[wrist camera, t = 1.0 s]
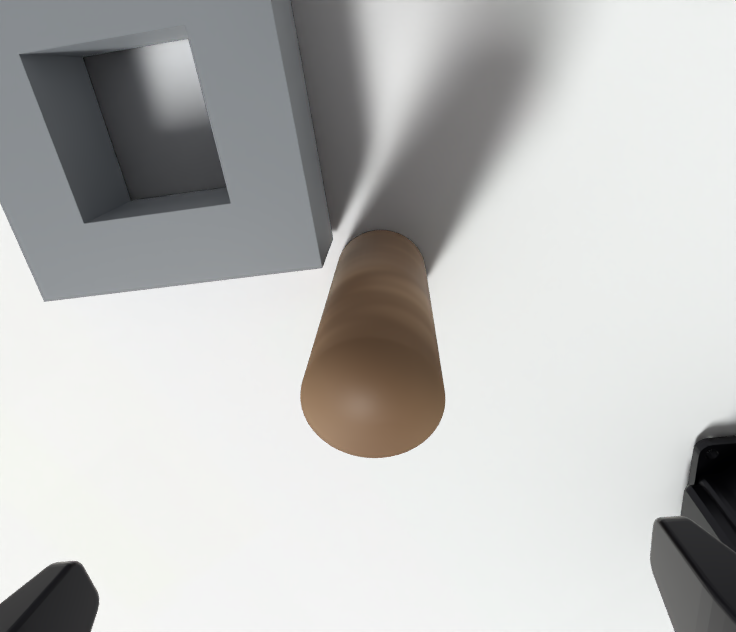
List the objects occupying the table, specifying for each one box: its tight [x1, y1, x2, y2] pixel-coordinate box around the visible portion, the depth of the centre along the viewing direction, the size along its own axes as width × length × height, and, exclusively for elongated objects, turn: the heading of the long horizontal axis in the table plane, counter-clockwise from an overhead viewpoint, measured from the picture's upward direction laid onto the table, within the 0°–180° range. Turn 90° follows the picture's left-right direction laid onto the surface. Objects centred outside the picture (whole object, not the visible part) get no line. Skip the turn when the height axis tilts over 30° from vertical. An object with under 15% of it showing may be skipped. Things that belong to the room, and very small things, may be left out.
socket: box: [0, 0, 333, 302], centre depth 15 cm, size 9×9×3 cm
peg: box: [301, 230, 445, 458], centre depth 15 cm, size 3×3×8 cm
